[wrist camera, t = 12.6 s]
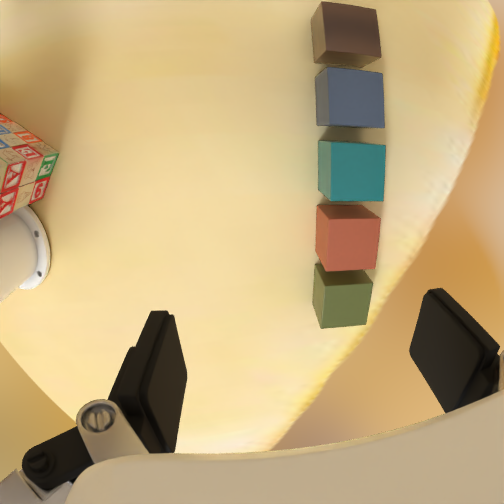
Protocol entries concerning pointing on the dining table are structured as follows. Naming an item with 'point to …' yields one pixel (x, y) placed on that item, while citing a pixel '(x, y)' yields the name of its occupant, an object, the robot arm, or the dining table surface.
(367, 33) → the walnut cube
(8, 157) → the stack of blocks
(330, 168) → the teal cube
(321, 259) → the terracotta cube
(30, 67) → the dining table surface
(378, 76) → the slate cube
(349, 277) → the olive cube
